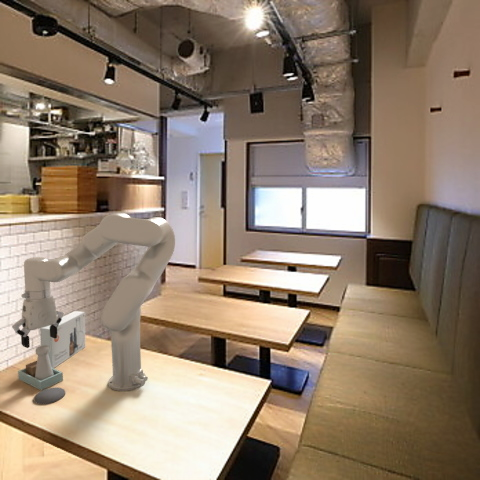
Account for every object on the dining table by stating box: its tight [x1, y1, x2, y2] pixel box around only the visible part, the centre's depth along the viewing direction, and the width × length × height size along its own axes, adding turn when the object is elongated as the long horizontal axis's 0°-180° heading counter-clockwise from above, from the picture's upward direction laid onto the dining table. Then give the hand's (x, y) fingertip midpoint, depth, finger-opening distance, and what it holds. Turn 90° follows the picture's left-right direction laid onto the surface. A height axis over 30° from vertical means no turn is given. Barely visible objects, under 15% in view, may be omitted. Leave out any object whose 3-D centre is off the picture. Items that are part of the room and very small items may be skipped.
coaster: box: [33, 387, 66, 405], centre depth 123 cm, size 9×9×1 cm
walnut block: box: [25, 360, 37, 378], centre depth 135 cm, size 4×4×5 cm
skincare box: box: [39, 310, 86, 369], centre depth 150 cm, size 21×6×16 cm, turn 168°
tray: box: [17, 367, 64, 391], centre depth 133 cm, size 14×8×3 cm, turn 58°
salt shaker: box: [35, 344, 54, 381], centre depth 131 cm, size 6×6×13 cm
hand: (40, 342), depth 130 cm, fingers open, 9 cm apart
